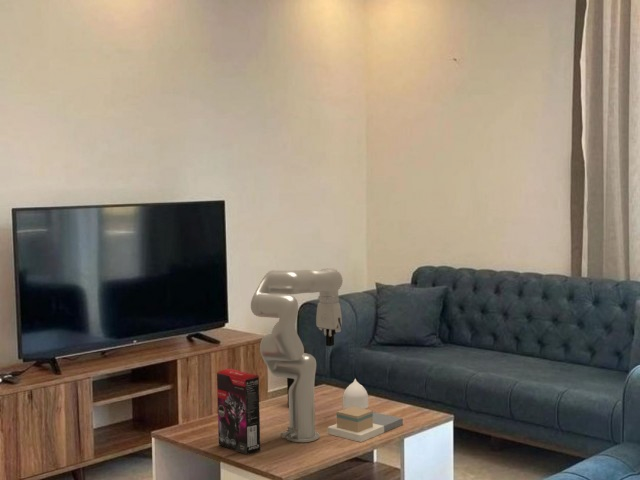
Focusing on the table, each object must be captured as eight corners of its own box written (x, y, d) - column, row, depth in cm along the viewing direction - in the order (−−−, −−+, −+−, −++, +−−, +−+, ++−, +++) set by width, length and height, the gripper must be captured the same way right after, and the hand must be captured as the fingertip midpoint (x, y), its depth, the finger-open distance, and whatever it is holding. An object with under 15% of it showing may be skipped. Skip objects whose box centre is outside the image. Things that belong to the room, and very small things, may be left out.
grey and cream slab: (361, 442, 288) (360, 435, 288) (327, 433, 298) (327, 427, 298) (402, 424, 307) (402, 418, 307) (369, 417, 318) (369, 411, 318)
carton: (357, 432, 291) (357, 416, 291) (336, 427, 298) (336, 411, 297) (372, 426, 298) (372, 410, 297) (352, 421, 304) (351, 406, 304)
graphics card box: (217, 445, 288) (214, 371, 286) (232, 440, 293) (230, 367, 291) (247, 456, 276) (244, 378, 274) (262, 451, 281) (260, 375, 279)
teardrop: (339, 409, 331) (338, 380, 330) (346, 401, 341) (346, 374, 340) (365, 410, 327) (364, 382, 326) (371, 403, 338) (371, 375, 337)
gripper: (308, 299, 318) (309, 344, 319) (337, 302, 308) (338, 349, 310) (321, 297, 324) (322, 341, 325) (349, 300, 314) (350, 346, 315)
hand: (330, 345), depth 317 cm, fingers closed
